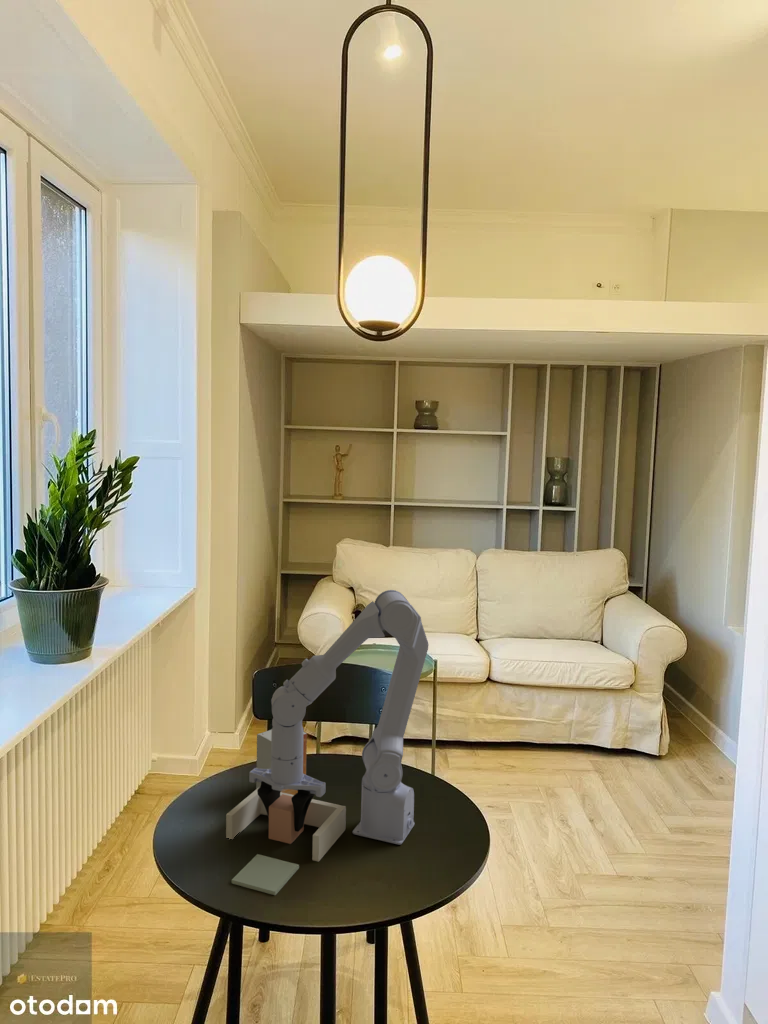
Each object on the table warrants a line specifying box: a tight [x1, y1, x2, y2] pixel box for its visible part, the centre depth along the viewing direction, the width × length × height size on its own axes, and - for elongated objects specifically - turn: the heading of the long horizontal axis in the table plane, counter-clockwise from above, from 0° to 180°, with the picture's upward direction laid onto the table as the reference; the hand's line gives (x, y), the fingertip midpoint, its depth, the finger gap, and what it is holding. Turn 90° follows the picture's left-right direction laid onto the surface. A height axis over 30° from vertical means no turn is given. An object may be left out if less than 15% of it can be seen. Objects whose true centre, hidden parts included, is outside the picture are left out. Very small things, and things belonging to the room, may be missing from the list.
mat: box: [231, 853, 300, 896], centre depth 120 cm, size 8×8×1 cm
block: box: [268, 794, 305, 845], centre depth 132 cm, size 4×5×6 cm
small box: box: [255, 728, 308, 795], centre depth 146 cm, size 8×6×13 cm
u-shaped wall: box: [225, 787, 347, 862], centre depth 132 cm, size 18×11×4 cm, turn 69°
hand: (286, 825), depth 132 cm, fingers closed on block, 4 cm apart
